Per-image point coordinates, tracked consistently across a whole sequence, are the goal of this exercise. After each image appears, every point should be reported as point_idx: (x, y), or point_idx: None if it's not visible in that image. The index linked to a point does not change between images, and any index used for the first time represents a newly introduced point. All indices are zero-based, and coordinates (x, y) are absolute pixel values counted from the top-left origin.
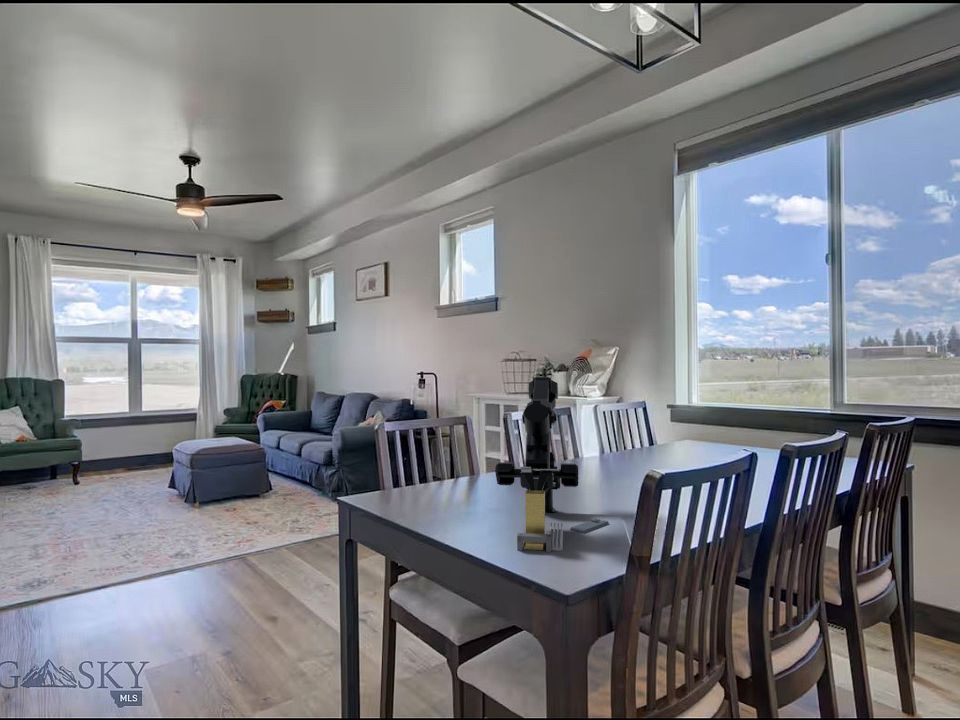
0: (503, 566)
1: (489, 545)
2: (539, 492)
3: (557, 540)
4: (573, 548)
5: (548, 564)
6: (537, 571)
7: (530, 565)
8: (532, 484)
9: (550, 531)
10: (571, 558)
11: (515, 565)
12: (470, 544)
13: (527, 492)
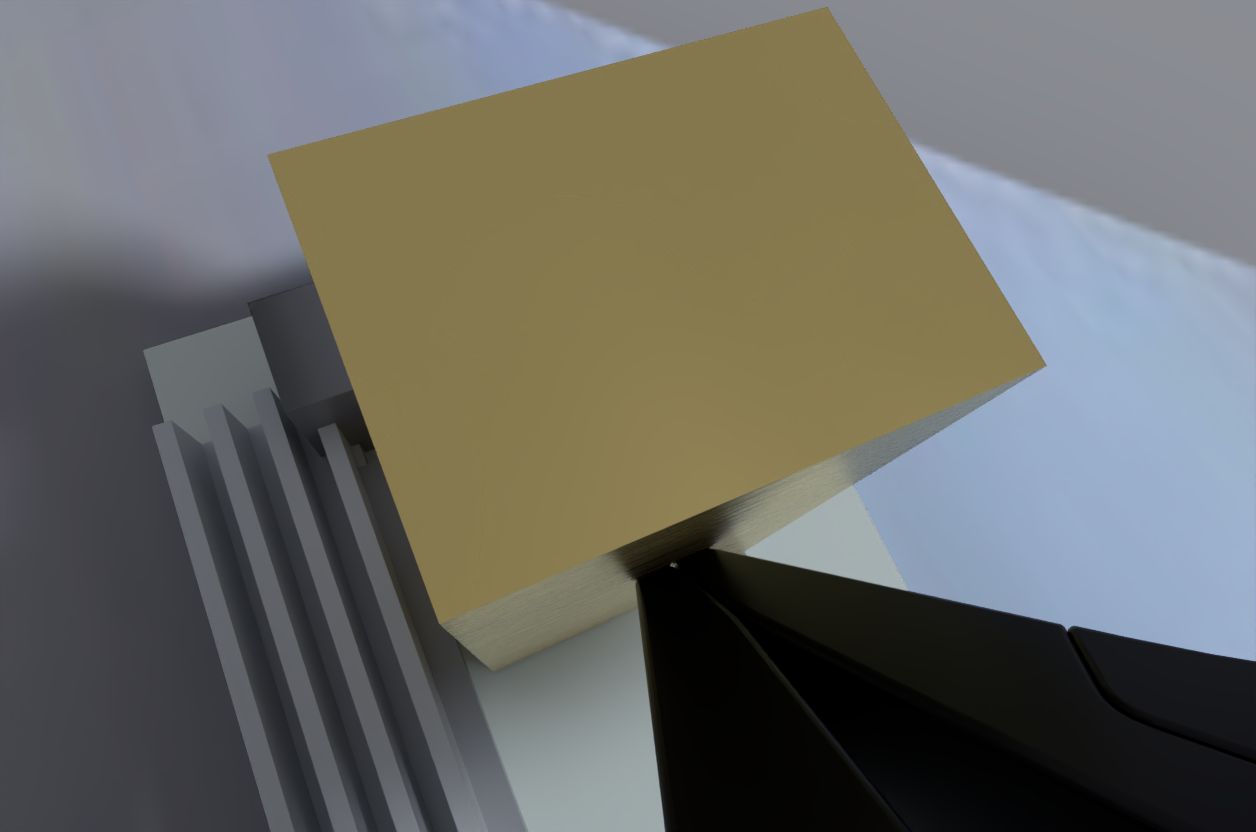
0: (581, 27)
1: None
2: (510, 284)
3: (213, 430)
4: (139, 743)
5: (257, 192)
6: (291, 33)
7: (396, 116)
8: (1183, 758)
9: (436, 744)
10: (81, 421)
11: (508, 74)
12: (1109, 333)
13: (848, 132)
